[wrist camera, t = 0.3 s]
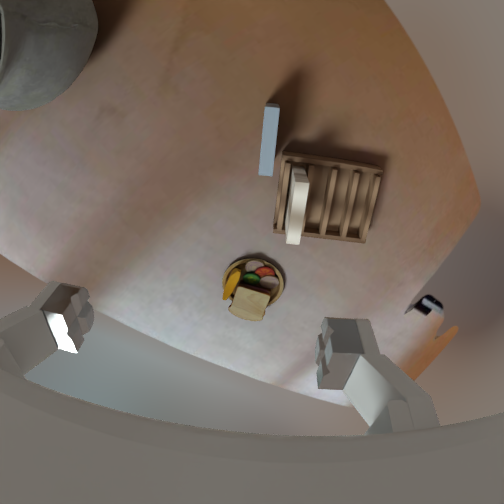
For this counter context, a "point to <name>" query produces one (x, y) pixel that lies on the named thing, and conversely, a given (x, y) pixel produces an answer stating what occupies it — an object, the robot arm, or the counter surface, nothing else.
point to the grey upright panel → (269, 139)
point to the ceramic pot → (42, 49)
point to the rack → (325, 198)
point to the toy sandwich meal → (251, 287)
